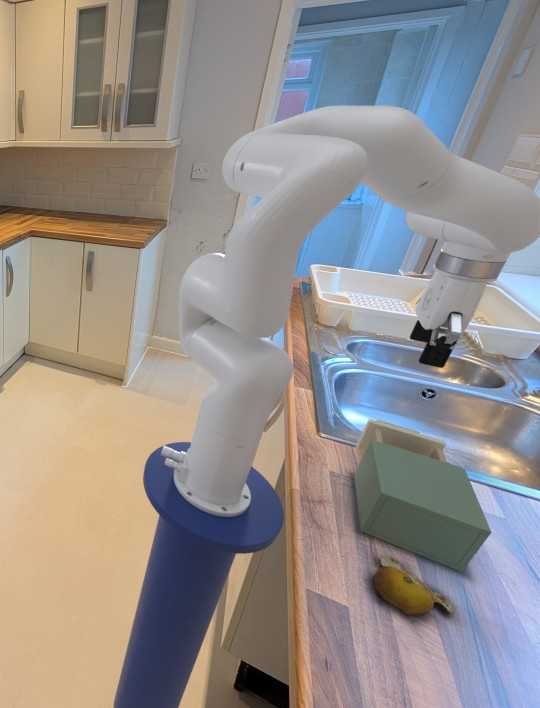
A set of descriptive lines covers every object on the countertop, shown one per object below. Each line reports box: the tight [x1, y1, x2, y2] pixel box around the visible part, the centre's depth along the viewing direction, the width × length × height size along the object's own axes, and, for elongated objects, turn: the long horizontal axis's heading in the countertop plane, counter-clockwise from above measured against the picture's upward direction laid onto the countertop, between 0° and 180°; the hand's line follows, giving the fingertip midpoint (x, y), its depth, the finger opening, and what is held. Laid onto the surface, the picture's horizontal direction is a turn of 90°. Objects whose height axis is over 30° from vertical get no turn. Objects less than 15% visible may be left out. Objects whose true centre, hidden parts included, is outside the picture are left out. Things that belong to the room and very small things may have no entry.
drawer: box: [355, 418, 448, 463], centre depth 76 cm, size 17×10×7 cm, turn 146°
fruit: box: [372, 555, 455, 617], centre depth 58 cm, size 8×8×4 cm
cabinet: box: [353, 440, 492, 573], centre depth 68 cm, size 14×12×9 cm
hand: (425, 352), depth 78 cm, fingers open, 9 cm apart
